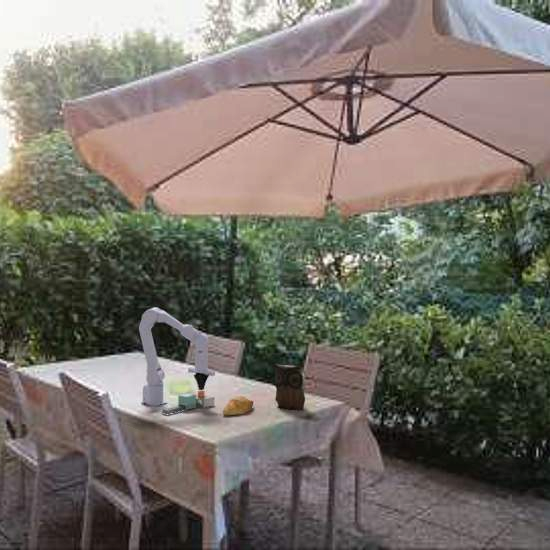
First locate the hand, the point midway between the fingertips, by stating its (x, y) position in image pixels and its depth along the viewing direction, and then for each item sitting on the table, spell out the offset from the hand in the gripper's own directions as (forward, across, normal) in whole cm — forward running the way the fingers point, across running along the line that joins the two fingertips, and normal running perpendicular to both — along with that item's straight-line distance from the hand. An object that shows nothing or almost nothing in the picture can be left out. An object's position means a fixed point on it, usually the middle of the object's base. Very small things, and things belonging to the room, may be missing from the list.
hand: (201, 389), depth 328 cm
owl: (+8, +35, +23) cm, 42 cm away
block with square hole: (+7, 0, 0) cm, 7 cm away
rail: (+7, -1, -13) cm, 15 cm away
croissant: (+8, +20, +1) cm, 22 cm away
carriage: (+7, 0, -9) cm, 12 cm away
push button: (+5, 0, 0) cm, 5 cm away
